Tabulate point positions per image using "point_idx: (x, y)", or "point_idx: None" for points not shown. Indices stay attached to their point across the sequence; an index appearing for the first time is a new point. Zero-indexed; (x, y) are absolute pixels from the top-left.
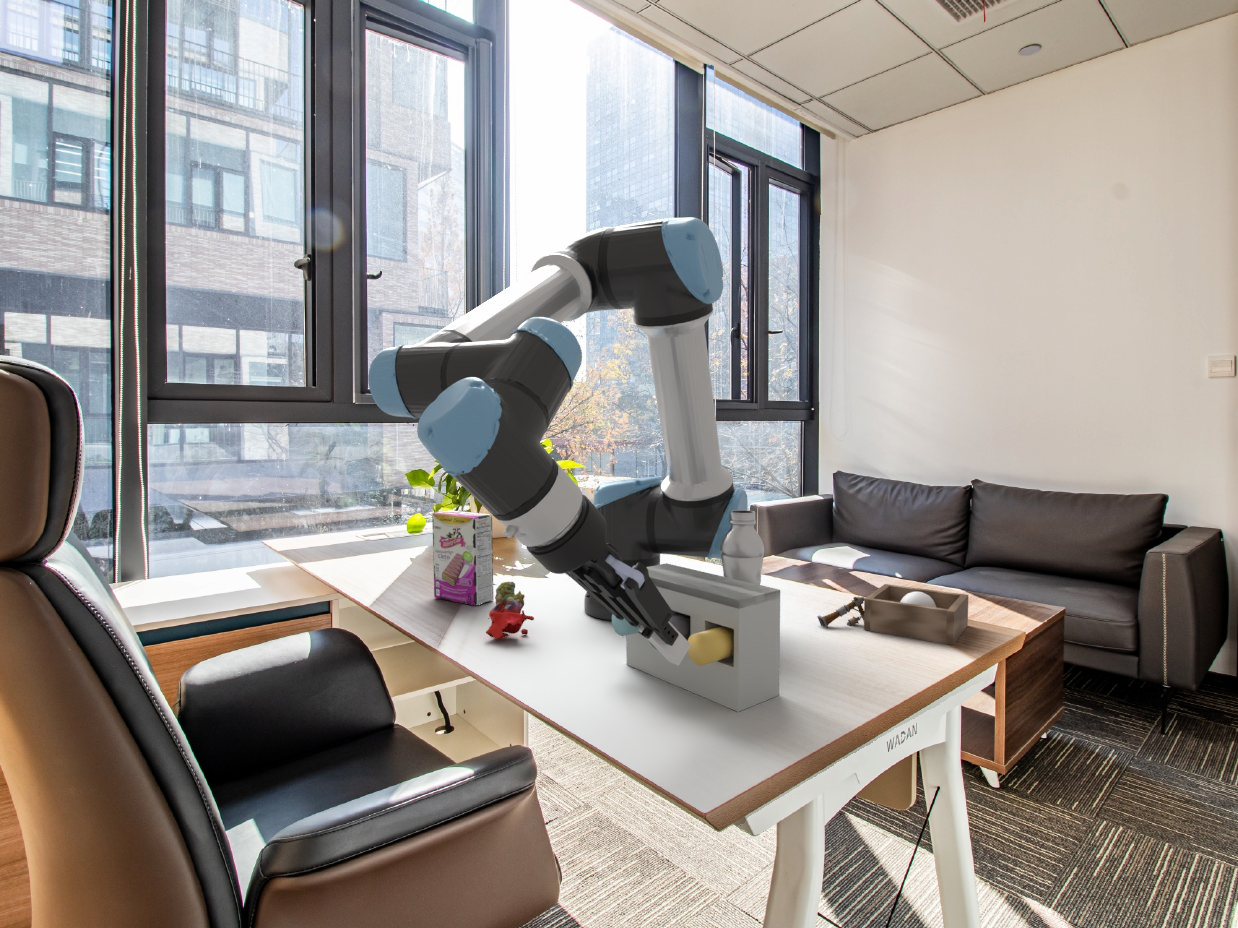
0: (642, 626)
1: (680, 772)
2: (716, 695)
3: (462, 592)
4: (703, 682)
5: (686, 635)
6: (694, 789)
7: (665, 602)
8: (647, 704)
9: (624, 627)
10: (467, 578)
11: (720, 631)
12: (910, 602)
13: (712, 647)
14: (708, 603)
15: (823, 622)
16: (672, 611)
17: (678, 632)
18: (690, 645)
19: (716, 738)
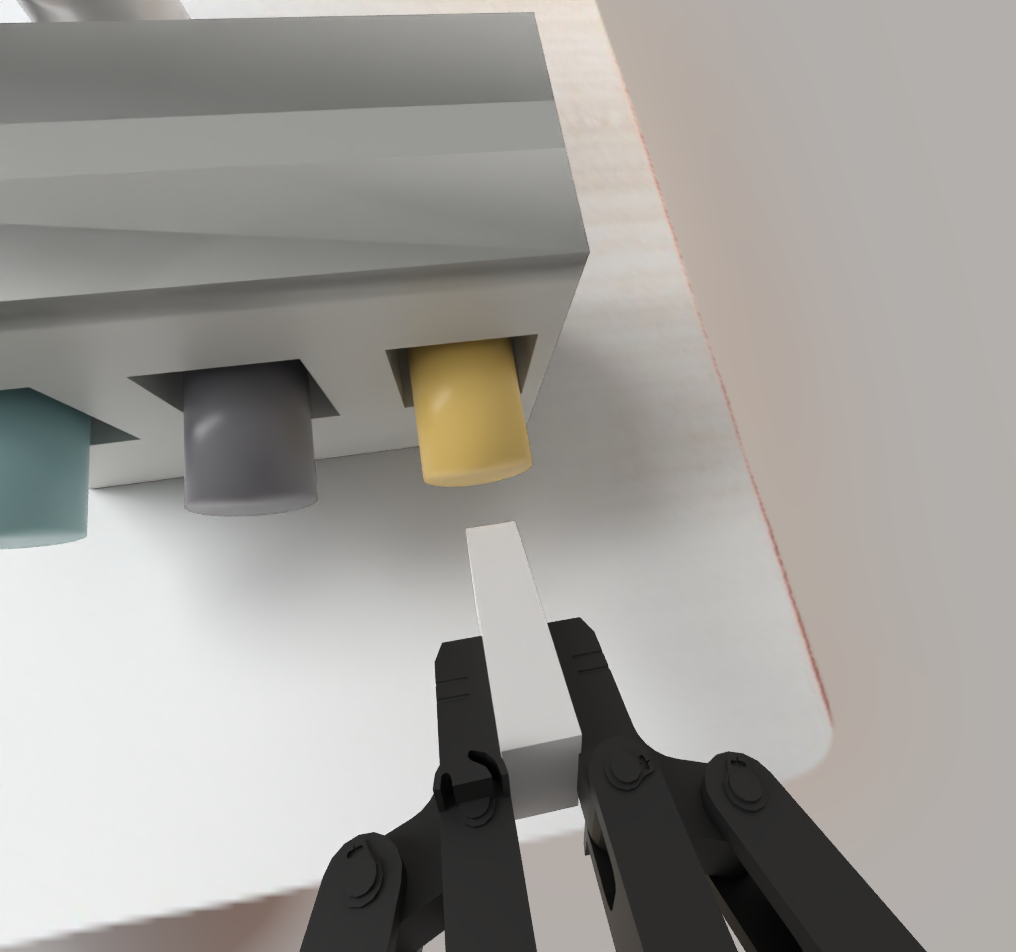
0: (520, 805)
1: (699, 723)
2: None
3: None
4: (409, 434)
5: (309, 400)
6: (767, 737)
7: (908, 936)
8: (369, 593)
9: (50, 536)
10: None
11: (486, 362)
12: None
13: (528, 444)
14: (395, 305)
15: None
16: (779, 784)
17: (533, 586)
18: (514, 523)
19: (607, 558)
